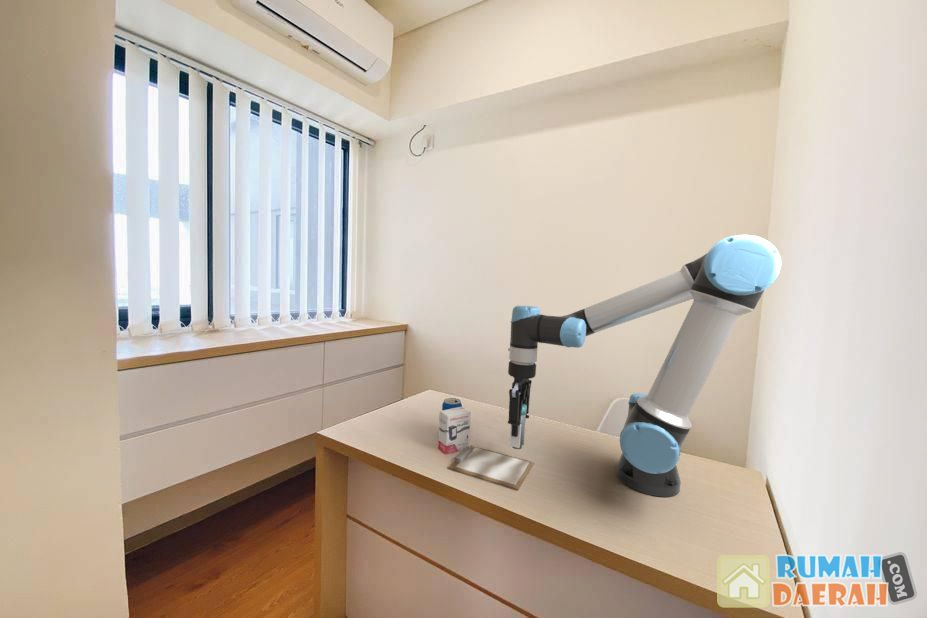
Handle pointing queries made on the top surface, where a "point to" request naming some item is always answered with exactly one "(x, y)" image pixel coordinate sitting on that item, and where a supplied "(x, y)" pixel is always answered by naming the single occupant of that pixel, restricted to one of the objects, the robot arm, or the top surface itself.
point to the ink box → (454, 429)
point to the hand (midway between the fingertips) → (517, 443)
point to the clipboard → (492, 466)
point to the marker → (522, 425)
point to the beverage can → (451, 403)
